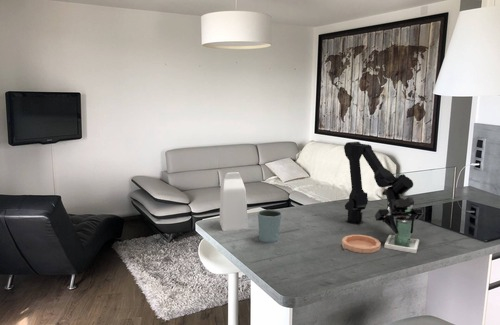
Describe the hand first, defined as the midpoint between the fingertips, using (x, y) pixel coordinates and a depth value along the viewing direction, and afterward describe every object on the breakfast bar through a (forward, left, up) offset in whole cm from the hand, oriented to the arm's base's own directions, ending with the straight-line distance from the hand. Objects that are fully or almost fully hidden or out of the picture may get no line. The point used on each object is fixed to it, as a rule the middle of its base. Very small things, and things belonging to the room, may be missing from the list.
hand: (404, 233), depth 162 cm
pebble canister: (-1, +1, -6) cm, 6 cm away
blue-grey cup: (-53, -15, -7) cm, 56 cm away
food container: (-4, +37, -7) cm, 38 cm away
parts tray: (-1, +1, -7) cm, 7 cm away
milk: (-76, -8, -7) cm, 77 cm away
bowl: (-16, -7, -7) cm, 18 cm away
